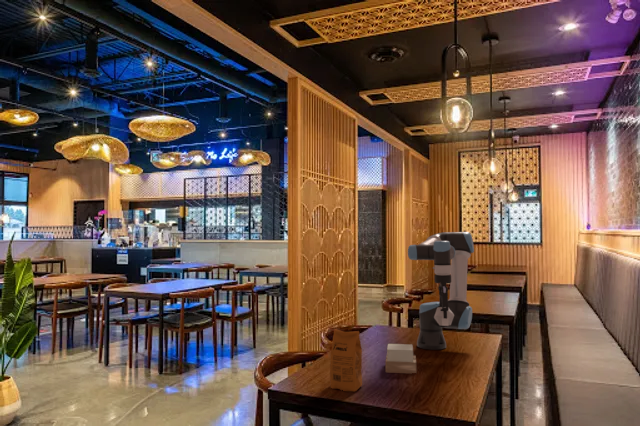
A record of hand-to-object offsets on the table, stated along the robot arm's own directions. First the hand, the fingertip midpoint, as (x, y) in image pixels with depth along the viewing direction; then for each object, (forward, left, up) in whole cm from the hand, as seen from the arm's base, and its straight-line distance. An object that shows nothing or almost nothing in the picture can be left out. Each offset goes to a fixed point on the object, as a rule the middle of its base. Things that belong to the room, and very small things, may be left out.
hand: (444, 323), depth 205 cm
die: (0, 0, -1) cm, 1 cm away
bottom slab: (+10, -20, -19) cm, 29 cm away
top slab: (+10, -20, -14) cm, 27 cm away
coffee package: (+38, -41, -19) cm, 59 cm away
